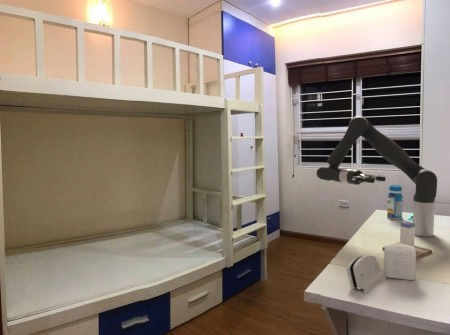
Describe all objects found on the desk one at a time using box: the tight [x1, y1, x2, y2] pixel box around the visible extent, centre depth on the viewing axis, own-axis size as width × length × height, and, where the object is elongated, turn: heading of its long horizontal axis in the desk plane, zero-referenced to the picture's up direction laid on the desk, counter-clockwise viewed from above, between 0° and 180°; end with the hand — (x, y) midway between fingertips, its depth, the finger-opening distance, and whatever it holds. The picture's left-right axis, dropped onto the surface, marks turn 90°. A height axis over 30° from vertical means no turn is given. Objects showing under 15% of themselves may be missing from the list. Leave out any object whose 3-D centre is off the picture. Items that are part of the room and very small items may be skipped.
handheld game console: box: [408, 213, 413, 221], centre depth 199 cm, size 10×16×1 cm, turn 145°
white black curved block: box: [346, 254, 387, 294], centre depth 114 cm, size 17×5×10 cm, turn 132°
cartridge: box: [399, 221, 416, 247], centre depth 143 cm, size 4×4×12 cm
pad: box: [382, 241, 433, 260], centre depth 143 cm, size 14×14×1 cm
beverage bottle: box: [386, 184, 404, 220], centre depth 199 cm, size 8×8×20 cm
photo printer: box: [382, 243, 417, 281], centre depth 117 cm, size 10×4×12 cm, turn 72°
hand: (379, 179), depth 154 cm, fingers open, 8 cm apart
